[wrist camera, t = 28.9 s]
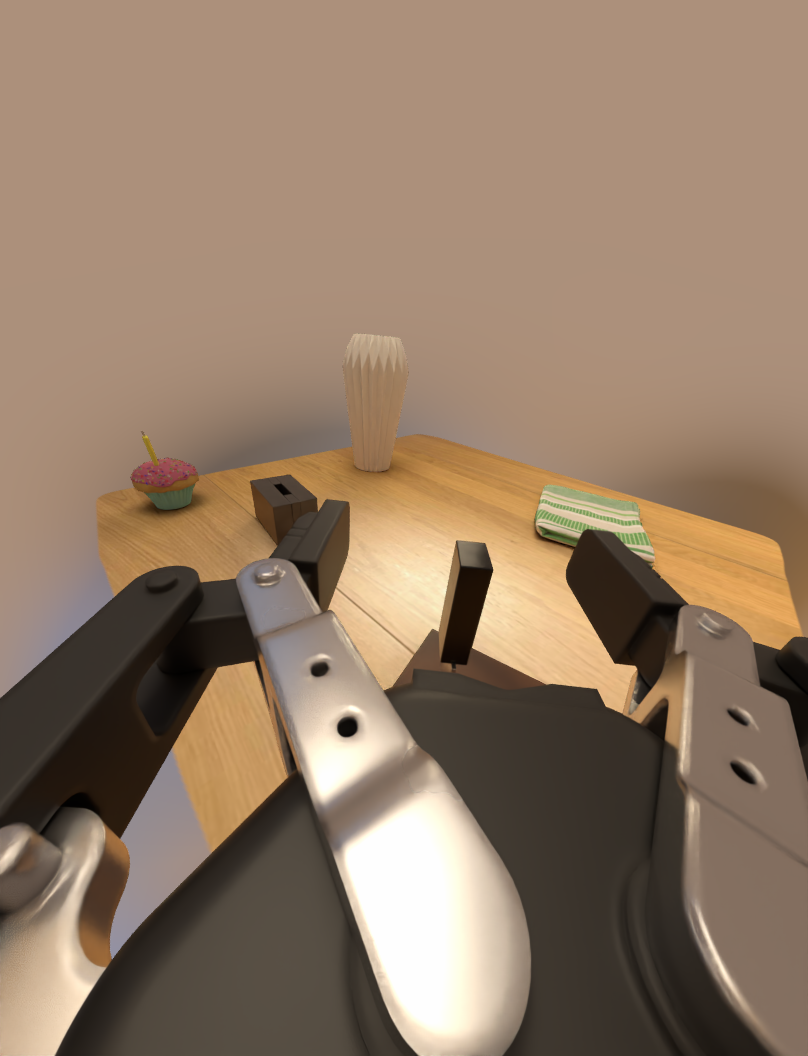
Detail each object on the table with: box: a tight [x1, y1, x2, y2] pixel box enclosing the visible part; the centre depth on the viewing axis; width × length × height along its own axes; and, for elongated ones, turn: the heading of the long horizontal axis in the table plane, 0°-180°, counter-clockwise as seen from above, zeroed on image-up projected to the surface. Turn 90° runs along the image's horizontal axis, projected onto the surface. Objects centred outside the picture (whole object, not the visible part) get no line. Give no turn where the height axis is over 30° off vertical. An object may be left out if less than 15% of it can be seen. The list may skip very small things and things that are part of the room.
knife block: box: [250, 475, 318, 545], centre depth 47 cm, size 6×10×6 cm, turn 38°
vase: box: [343, 334, 409, 472], centre depth 69 cm, size 13×13×26 cm
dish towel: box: [535, 485, 655, 567], centre depth 57 cm, size 18×23×3 cm
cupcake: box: [130, 431, 199, 510], centre depth 49 cm, size 9×8×12 cm
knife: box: [439, 540, 493, 673], centre depth 20 cm, size 2×3×15 cm, turn 176°
